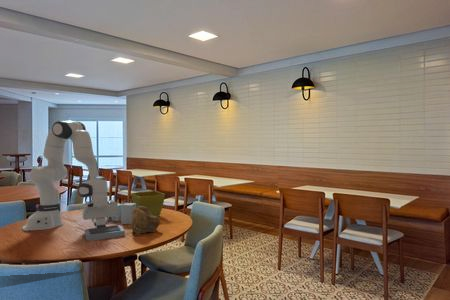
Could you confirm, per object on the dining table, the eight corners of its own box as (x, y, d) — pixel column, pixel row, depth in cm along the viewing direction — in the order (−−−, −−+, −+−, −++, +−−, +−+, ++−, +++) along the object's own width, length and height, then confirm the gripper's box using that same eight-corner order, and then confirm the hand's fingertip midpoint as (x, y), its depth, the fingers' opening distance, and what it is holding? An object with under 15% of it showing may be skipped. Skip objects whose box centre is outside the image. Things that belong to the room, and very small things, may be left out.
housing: (97, 231, 197) (97, 219, 197) (95, 228, 204) (95, 217, 204) (105, 230, 199) (105, 218, 199) (103, 227, 206) (103, 216, 206)
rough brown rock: (157, 238, 185) (159, 211, 185) (127, 236, 183) (129, 210, 184) (160, 228, 208) (162, 205, 209) (134, 227, 207) (136, 203, 207)
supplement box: (131, 224, 213) (131, 205, 212) (121, 223, 214) (120, 204, 214) (136, 221, 220) (136, 203, 219) (126, 221, 221) (126, 202, 221)
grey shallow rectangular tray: (87, 241, 177) (87, 234, 177) (84, 234, 190) (84, 228, 190) (124, 235, 187) (124, 229, 187) (119, 229, 199) (119, 224, 199)
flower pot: (165, 217, 232) (165, 193, 231) (139, 221, 221) (139, 196, 221) (155, 212, 248) (155, 190, 247) (130, 215, 237) (130, 192, 236)
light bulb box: (106, 219, 225) (105, 204, 225) (112, 217, 231) (112, 202, 231) (118, 221, 221) (118, 205, 221) (125, 219, 227) (124, 203, 227)
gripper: (116, 200, 209) (116, 221, 209) (81, 203, 199) (82, 225, 199) (118, 201, 203) (118, 223, 204) (83, 205, 193) (83, 228, 194)
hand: (100, 224), depth 201 cm, fingers closed on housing, 5 cm apart
